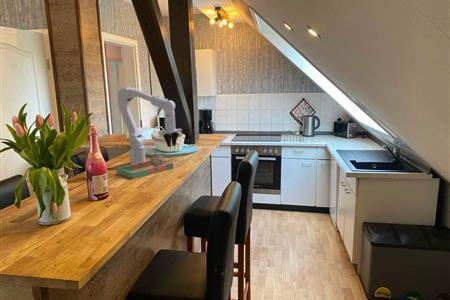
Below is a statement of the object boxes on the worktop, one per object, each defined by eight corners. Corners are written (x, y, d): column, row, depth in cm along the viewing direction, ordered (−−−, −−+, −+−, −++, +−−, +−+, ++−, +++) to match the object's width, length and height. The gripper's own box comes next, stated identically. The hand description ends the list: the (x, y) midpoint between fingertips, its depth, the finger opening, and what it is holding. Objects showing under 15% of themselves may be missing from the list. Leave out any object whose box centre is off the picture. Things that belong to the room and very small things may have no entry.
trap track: (116, 173, 173) (115, 167, 172) (155, 163, 191) (155, 158, 190) (133, 178, 162) (132, 173, 162) (173, 168, 180) (172, 162, 180)
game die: (156, 173, 185) (150, 157, 188) (170, 167, 185) (164, 152, 188) (150, 169, 176) (145, 153, 179) (165, 163, 176) (159, 147, 179)
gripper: (164, 124, 177) (165, 149, 180) (184, 121, 188) (185, 144, 191) (156, 123, 182) (157, 147, 185) (176, 120, 192) (177, 143, 195)
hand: (171, 146), depth 188 cm, fingers open, 3 cm apart
